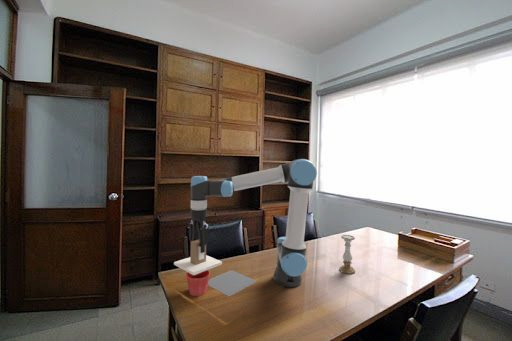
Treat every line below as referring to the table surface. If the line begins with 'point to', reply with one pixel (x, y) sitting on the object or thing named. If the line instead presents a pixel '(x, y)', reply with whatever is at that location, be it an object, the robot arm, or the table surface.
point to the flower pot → (198, 283)
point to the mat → (230, 282)
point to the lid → (197, 261)
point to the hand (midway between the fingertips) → (198, 257)
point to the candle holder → (347, 255)
